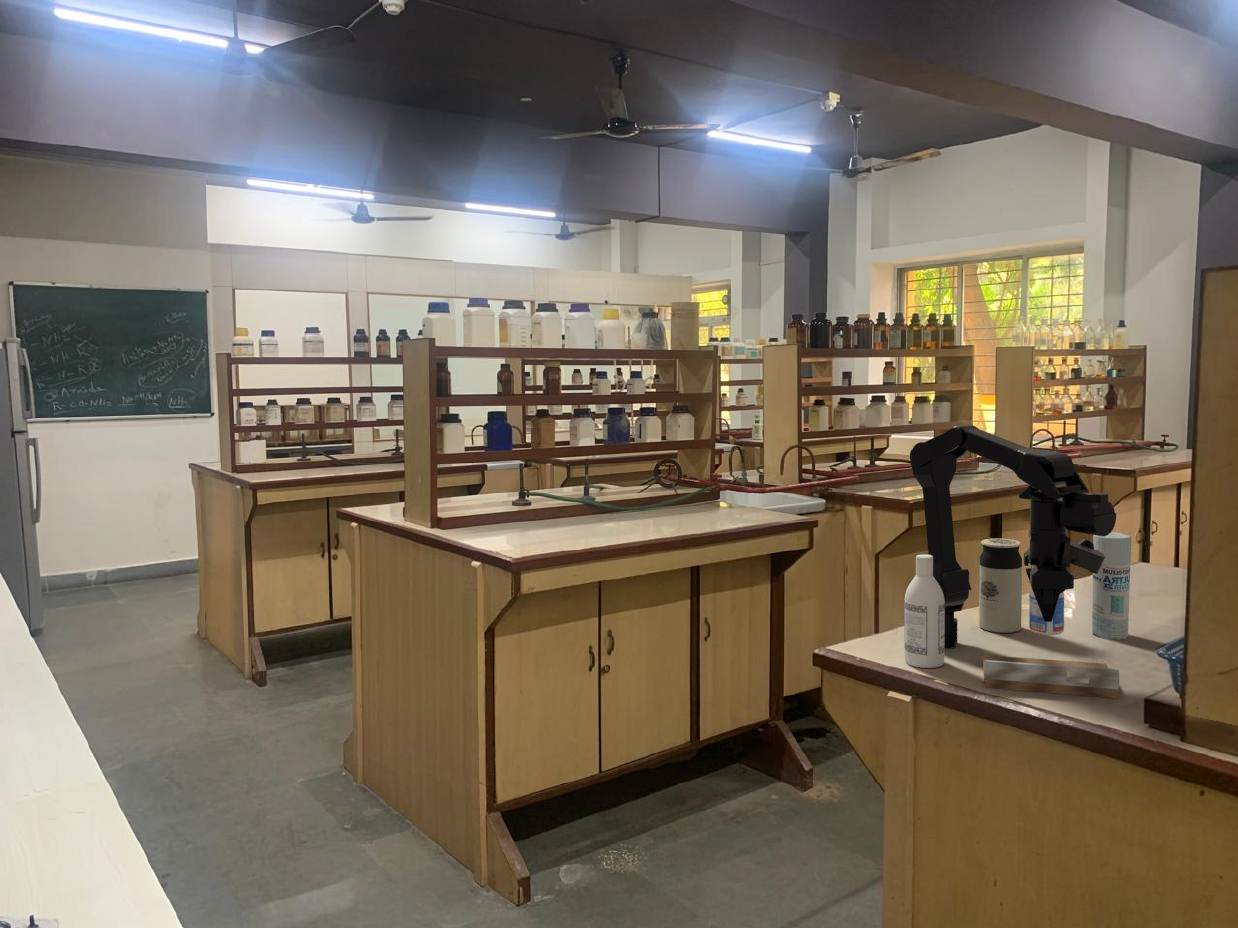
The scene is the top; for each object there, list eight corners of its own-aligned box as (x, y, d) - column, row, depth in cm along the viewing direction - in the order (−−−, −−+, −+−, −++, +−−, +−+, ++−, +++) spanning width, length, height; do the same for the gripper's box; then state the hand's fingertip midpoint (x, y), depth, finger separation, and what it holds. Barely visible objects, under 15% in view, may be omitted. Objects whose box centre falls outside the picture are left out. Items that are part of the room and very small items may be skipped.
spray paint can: (1117, 629, 182) (1120, 531, 179) (1135, 639, 175) (1138, 537, 173) (1084, 630, 182) (1087, 532, 180) (1101, 640, 175) (1104, 538, 173)
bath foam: (934, 655, 170) (934, 551, 168) (951, 667, 163) (951, 558, 161) (898, 658, 169) (898, 553, 167) (914, 670, 162) (914, 560, 160)
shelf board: (985, 687, 152) (985, 661, 152) (982, 662, 165) (982, 638, 164) (1119, 698, 145) (1119, 671, 145) (1105, 671, 158) (1106, 646, 157)
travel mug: (1003, 621, 190) (1004, 536, 188) (1030, 631, 182) (1031, 543, 181) (970, 625, 188) (971, 539, 186) (996, 635, 180) (997, 546, 179)
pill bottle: (1059, 626, 158) (1060, 572, 156) (1067, 636, 152) (1069, 579, 151) (1025, 625, 159) (1026, 571, 158) (1032, 635, 153) (1033, 578, 152)
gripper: (1110, 539, 142) (1107, 636, 144) (1093, 519, 159) (1091, 605, 161) (1032, 537, 146) (1031, 631, 148) (1024, 517, 163) (1022, 601, 165)
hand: (1046, 616), depth 155 cm, fingers closed on pill bottle, 5 cm apart
